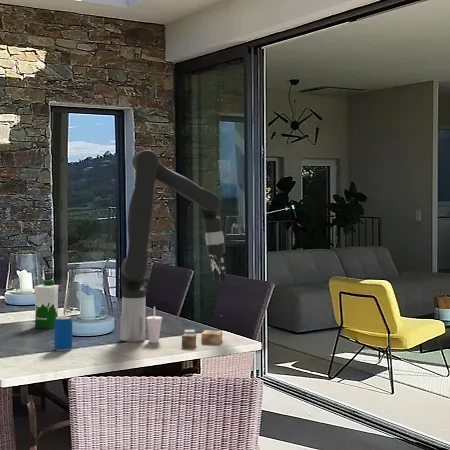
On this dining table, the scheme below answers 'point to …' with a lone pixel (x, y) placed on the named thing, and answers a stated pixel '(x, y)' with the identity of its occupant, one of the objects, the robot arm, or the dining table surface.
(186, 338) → the walnut cube
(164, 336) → the dining table surface
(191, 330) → the slate-grey cube
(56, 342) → the beverage can
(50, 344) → the dining table surface
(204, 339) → the teak block
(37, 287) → the milk carton
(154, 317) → the smoothie
